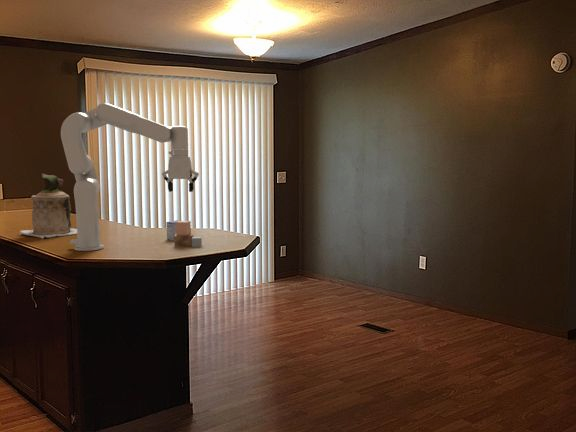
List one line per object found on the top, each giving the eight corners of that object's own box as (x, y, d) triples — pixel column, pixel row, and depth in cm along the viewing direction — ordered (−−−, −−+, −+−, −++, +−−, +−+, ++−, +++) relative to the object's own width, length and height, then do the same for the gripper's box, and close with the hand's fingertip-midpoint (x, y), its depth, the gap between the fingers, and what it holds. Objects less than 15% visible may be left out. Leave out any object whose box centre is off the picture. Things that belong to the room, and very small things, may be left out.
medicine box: (177, 237, 287) (176, 220, 286) (184, 237, 285) (183, 220, 284) (166, 239, 281) (165, 221, 280) (173, 240, 278) (172, 222, 277)
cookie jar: (43, 239, 287) (39, 175, 283) (18, 235, 302) (13, 174, 298) (87, 233, 307) (83, 173, 303) (61, 229, 321) (57, 172, 318)
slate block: (192, 247, 258) (191, 238, 258) (192, 245, 262) (192, 236, 262) (201, 246, 259) (200, 238, 258) (201, 245, 263) (201, 236, 262)
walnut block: (174, 247, 260) (174, 236, 259) (176, 244, 268) (175, 233, 267) (192, 246, 261) (192, 235, 260) (193, 243, 269) (193, 233, 268)
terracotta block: (176, 235, 262) (175, 222, 261) (180, 233, 267) (180, 220, 266) (186, 235, 261) (186, 222, 260) (190, 233, 266) (190, 221, 265)
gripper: (158, 153, 258) (159, 192, 260) (195, 153, 254) (196, 192, 256) (165, 153, 265) (166, 190, 267) (201, 153, 262) (201, 191, 264)
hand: (180, 191), depth 262 cm, fingers open, 9 cm apart
